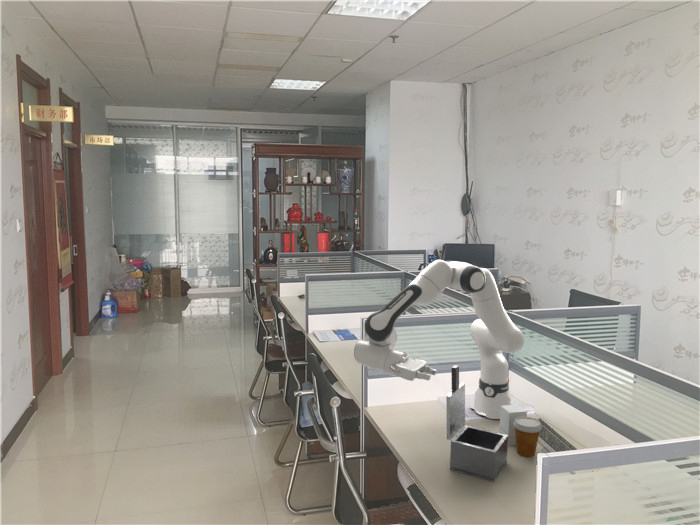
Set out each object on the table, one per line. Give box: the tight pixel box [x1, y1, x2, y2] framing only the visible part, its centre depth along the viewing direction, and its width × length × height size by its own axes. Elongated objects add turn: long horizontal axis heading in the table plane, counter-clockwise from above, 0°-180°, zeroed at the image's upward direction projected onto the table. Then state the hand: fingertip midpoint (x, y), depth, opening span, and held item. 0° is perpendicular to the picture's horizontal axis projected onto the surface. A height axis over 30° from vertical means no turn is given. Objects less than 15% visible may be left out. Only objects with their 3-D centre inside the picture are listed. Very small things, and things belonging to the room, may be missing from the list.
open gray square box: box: [449, 424, 509, 483], centre depth 192 cm, size 15×15×10 cm
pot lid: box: [445, 364, 466, 441], centre depth 194 cm, size 15×23×2 cm
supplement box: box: [498, 404, 528, 446], centre depth 212 cm, size 7×7×13 cm
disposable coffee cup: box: [514, 416, 543, 459], centre depth 201 cm, size 10×10×12 cm
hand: (433, 375), depth 198 cm, fingers open, 8 cm apart
